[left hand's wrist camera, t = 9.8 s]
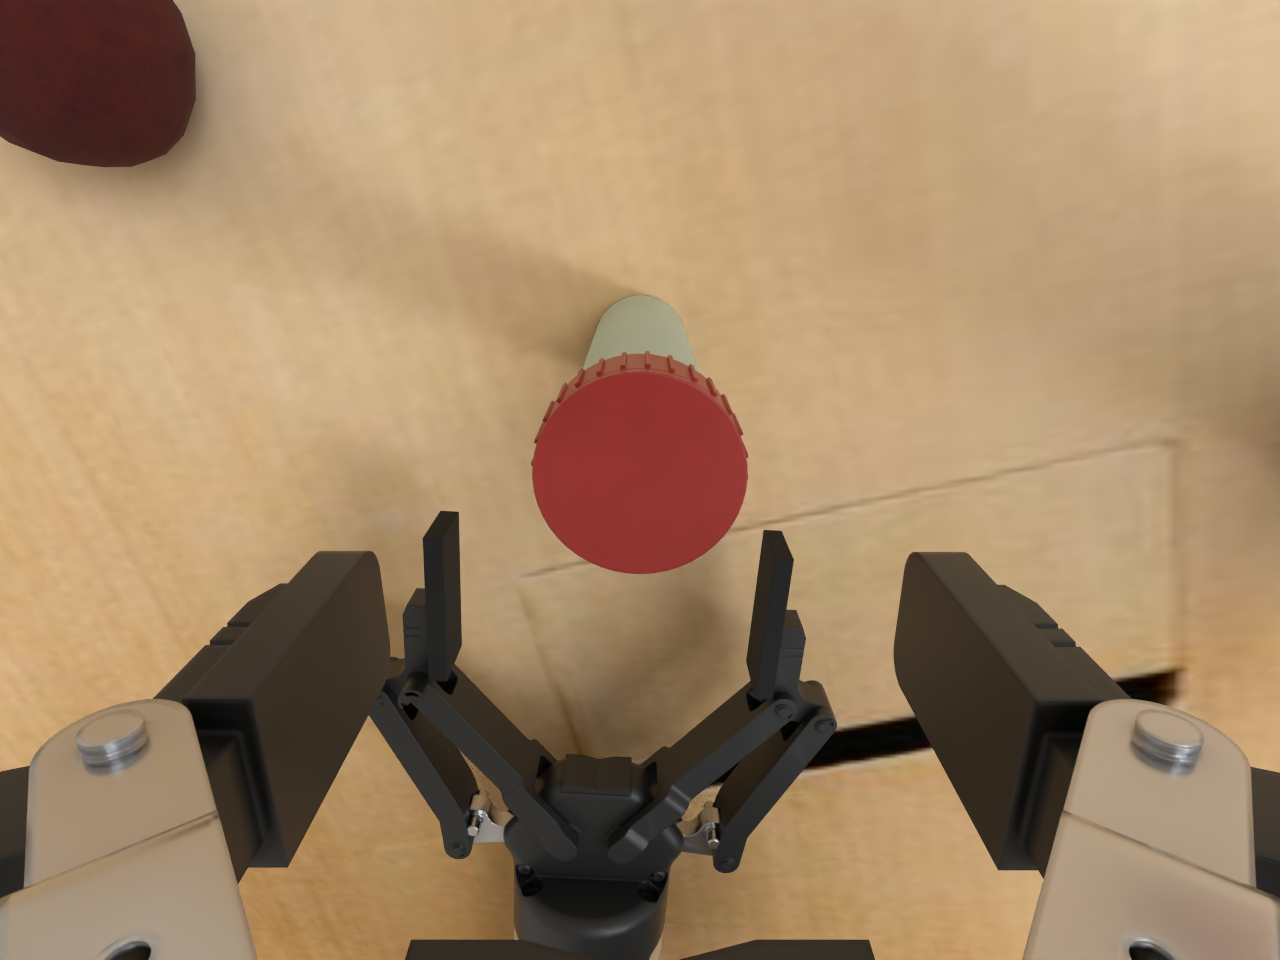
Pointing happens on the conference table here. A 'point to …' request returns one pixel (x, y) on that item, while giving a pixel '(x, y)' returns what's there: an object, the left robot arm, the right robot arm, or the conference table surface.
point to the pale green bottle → (640, 331)
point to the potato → (95, 79)
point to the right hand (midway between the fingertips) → (610, 533)
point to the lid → (639, 464)
